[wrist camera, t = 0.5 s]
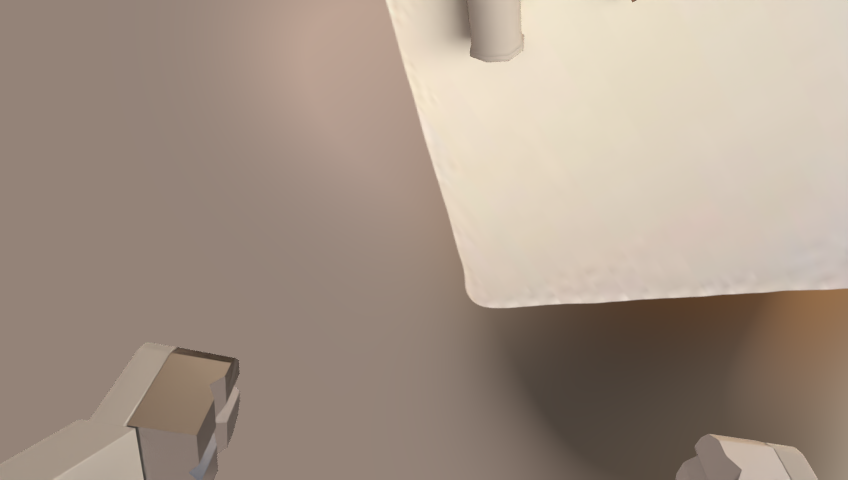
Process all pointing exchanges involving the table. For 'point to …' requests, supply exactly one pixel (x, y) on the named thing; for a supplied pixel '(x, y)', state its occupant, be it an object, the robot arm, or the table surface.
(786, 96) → the table surface
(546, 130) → the table surface
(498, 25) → the tube
